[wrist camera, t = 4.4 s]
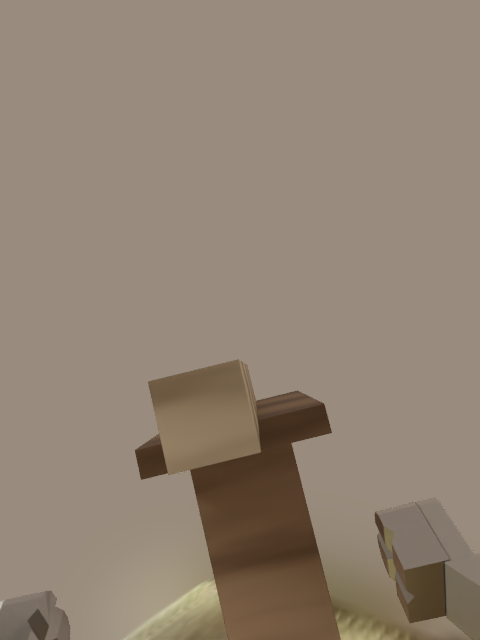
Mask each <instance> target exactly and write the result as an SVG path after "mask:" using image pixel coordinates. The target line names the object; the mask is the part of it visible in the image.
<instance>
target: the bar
mask: <svg viewBox="0 0 480 640" xmlns="http://www.w3.org/2000/svg"><path fill="white" fill-rule="evenodd" d="M148 384H149V389H150V393H151V398H152V402H153V407H154V411H155V416H156V421H157V425H158V430H159V435H160V439H161V444H162V448H163V453H164V457H165V462H166V467H167V471H168V475H171V474H175V473H179V472H183V471H187V470H191V469H195V468H199V467H203V466H208V465H212V464H216V463H220V462H224V461H228V460H232V459H236V458H240V457H244V456H248V455H252V454H256V453H260V452H261V448H260V437H259V427H258V416H257V406H256V399H255V395H254V391H253V387H252V383H251V379H250V375H249V371H248V367H247V365H246V364H245V363H243V362H241V361H239V360H234V361H230V362H226V363H222V364H218V365H214V366H210V367H206V368H202V369H198V370H194V371H190V372H185V373H181V374H177V375H173V376H169V377H165V378H161V379H157V380H153V381H149V382H148Z"/></svg>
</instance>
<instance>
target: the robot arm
mask: <svg viewBox="0 0 480 640" xmlns="http://www.w3.org/2000/svg"><path fill="white" fill-rule="evenodd" d="M375 523H376V525H377V527H378V529H379V534H378V535H377V538H378V544H379V548H380V552H381V555H382V559H383V562H384V564H385V567H386V569H387V572H388V574H389V577H390V578H392V579H393V580H395V581H396V587H397V595H398V597H399V600H400V602H401V604H402V606H403V609H404V611H405V613H406V616H407V618H408V620H409V622H410V623H413V622H418V621H423V620H428V619H432V618H438V617H442V616H447V618H448V619H449V620H450V621H451V622H452V623H454V624H455V625H456V626H457V627H458V628H459V629H461V630H462V631H463V632H464V633H465V634H466V635H468V636H469V637H470V638H471V639H472V640H480V554H476V555H474V553H473V552H472V550H471V549H470V547H469V546H468V544H467V543H466V541H465V539H464V538H463V536H462V535H461V533H460V532H459V530H458V529H457V527H456V526H455V524H454V523H453V521H452V520H451V518H450V517H449V515H448V514H447V512H446V511H445V509H444V508H443V506H442V504H441V503H440V501H439V500H437V499H436V498H431V499H427V500H423V501H418V502H415V503H413V502H412V503H408V504H404V505H401V506H397V507H393V508H389V509H385V510H381V511H377V512H375ZM56 600H57V598H56V597H55V596H54V594H53V593H52V591H46V592H41V593H36V594H31V595H26V596H22V597H17V598H12V599H8V600H4V601H0V640H70V625H69V621H68V617H67V615H66V614H65V612H64V611H63V610H61V609H59V608H57V607H55V604H56Z"/></svg>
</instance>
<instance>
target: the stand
mask: <svg viewBox="0 0 480 640" xmlns="http://www.w3.org/2000/svg"><path fill="white" fill-rule="evenodd" d="M256 406H257V416H258V427H259V437H260V448H261V452H260V453H256V454H252V455H248V456H244V457H240V458H236V459H232V460H228V461H224V462H220V463H216V464H212V465H208V466H203V467H199V468H195V469H191V470H190V471H191V476H192V480H193V484H194V488H195V493H196V498H197V502H198V506H199V511H200V516H201V520H202V525H203V529H204V533H205V538H206V542H207V546H208V551H209V556H210V560H211V564H212V568H213V574H214V578H215V582H216V587H217V591H218V596H219V600H220V605H221V609H222V614H223V618H224V622H225V627H226V631H227V636H228V640H341V639H340V635H339V631H338V627H337V623H336V619H335V615H334V611H333V607H332V603H331V599H330V595H329V591H328V587H327V583H326V580H325V576H324V571H323V568H322V564H321V559H320V556H319V552H318V548H317V544H316V539H315V535H314V532H313V528H312V524H311V520H310V516H309V512H308V508H307V504H306V500H305V496H304V492H303V488H302V484H301V480H300V476H299V472H298V468H297V464H296V460H295V456H294V452H293V448H292V445H291V443H293V442H296V441H301V440H305V439H309V438H313V437H317V436H321V435H325V434H329V433H332V432H331V428H330V424H329V420H328V417H327V413H326V409H325V405H324V404H323V403H321V402H319V401H317V400H315V399H313V398H311V397H309V396H307V395H305V394H303V393H301V392H299V391H294V392H290V393H286V394H282V395H278V396H274V397H270V398H266V399H262V400H258V401H256ZM135 453H136V457H137V463H138V467H139V472H140V477H141V479H146V478H150V477H154V476H158V475H162V474H166V473H168V471H167V467H166V462H165V457H164V453H163V448H162V444H161V439H160V435H159V434H158V435H156V436H155V437H154V438H152V439H151V440H149V441H148V442H146V443H145V444H143V445H142V446H140V447H139V448H138V449H136V450H135Z"/></svg>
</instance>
